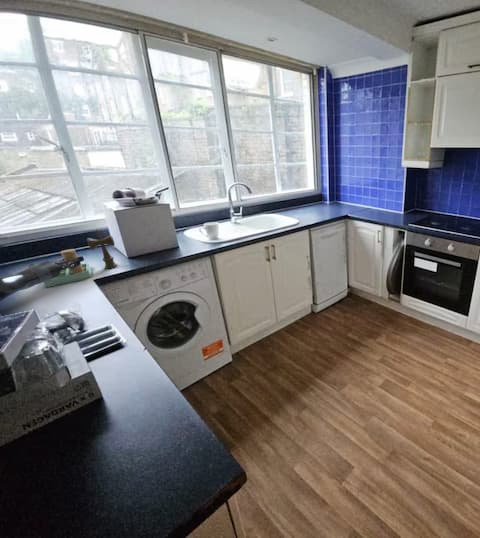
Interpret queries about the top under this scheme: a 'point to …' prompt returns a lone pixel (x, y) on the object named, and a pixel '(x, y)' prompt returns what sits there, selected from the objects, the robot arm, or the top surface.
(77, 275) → the grid
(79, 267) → the tan cylinder
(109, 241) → the kendama
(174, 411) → the top surface
